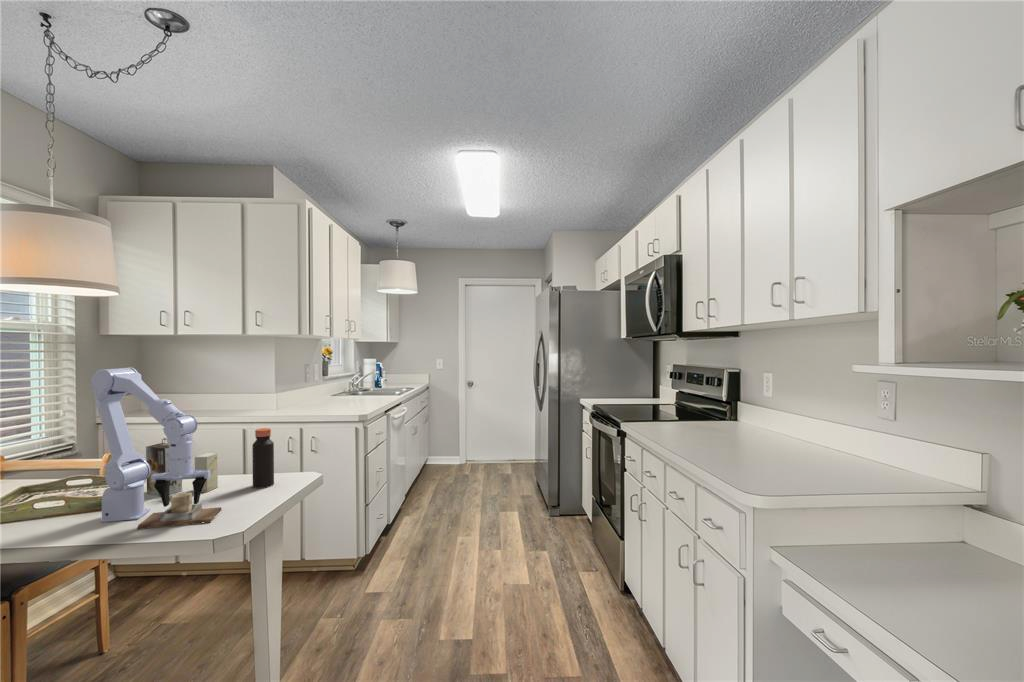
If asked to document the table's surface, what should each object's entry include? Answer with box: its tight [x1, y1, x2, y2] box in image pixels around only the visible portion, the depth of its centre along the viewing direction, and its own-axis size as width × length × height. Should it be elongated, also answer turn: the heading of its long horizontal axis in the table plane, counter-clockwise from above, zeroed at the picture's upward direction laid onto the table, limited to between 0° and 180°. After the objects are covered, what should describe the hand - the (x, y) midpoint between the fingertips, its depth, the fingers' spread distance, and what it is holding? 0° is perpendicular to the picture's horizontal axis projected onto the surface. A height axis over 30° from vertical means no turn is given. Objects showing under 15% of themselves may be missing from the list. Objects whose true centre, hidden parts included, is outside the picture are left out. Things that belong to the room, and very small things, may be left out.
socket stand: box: [137, 502, 222, 530], centre depth 145 cm, size 18×10×3 cm, turn 105°
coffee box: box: [145, 442, 183, 496], centre depth 169 cm, size 9×6×16 cm
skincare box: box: [194, 452, 219, 493], centre depth 172 cm, size 6×4×12 cm
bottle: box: [251, 427, 275, 488], centre depth 177 cm, size 7×7×20 cm
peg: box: [170, 492, 193, 513], centre depth 145 cm, size 4×4×6 cm
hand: (181, 504), depth 145 cm, fingers open, 7 cm apart
